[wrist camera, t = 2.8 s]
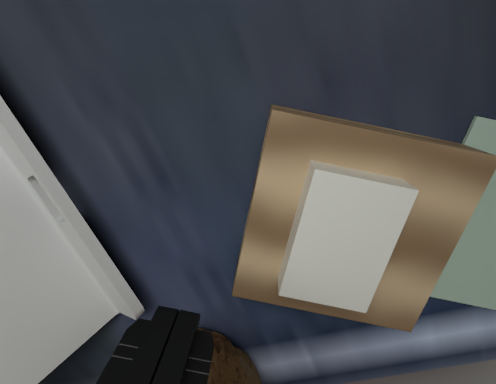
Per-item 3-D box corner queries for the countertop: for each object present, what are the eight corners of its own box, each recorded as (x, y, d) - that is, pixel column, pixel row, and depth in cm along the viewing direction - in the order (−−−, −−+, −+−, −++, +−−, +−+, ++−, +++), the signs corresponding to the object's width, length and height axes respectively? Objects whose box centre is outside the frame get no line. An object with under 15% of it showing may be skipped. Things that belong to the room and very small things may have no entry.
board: (271, 104, 21) (272, 109, 18) (461, 143, 22) (501, 157, 18) (237, 265, 26) (231, 295, 23) (391, 296, 27) (410, 332, 23)
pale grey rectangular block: (310, 160, 19) (315, 169, 17) (404, 179, 19) (419, 190, 17) (277, 276, 22) (278, 295, 20) (357, 293, 22) (365, 313, 20)
